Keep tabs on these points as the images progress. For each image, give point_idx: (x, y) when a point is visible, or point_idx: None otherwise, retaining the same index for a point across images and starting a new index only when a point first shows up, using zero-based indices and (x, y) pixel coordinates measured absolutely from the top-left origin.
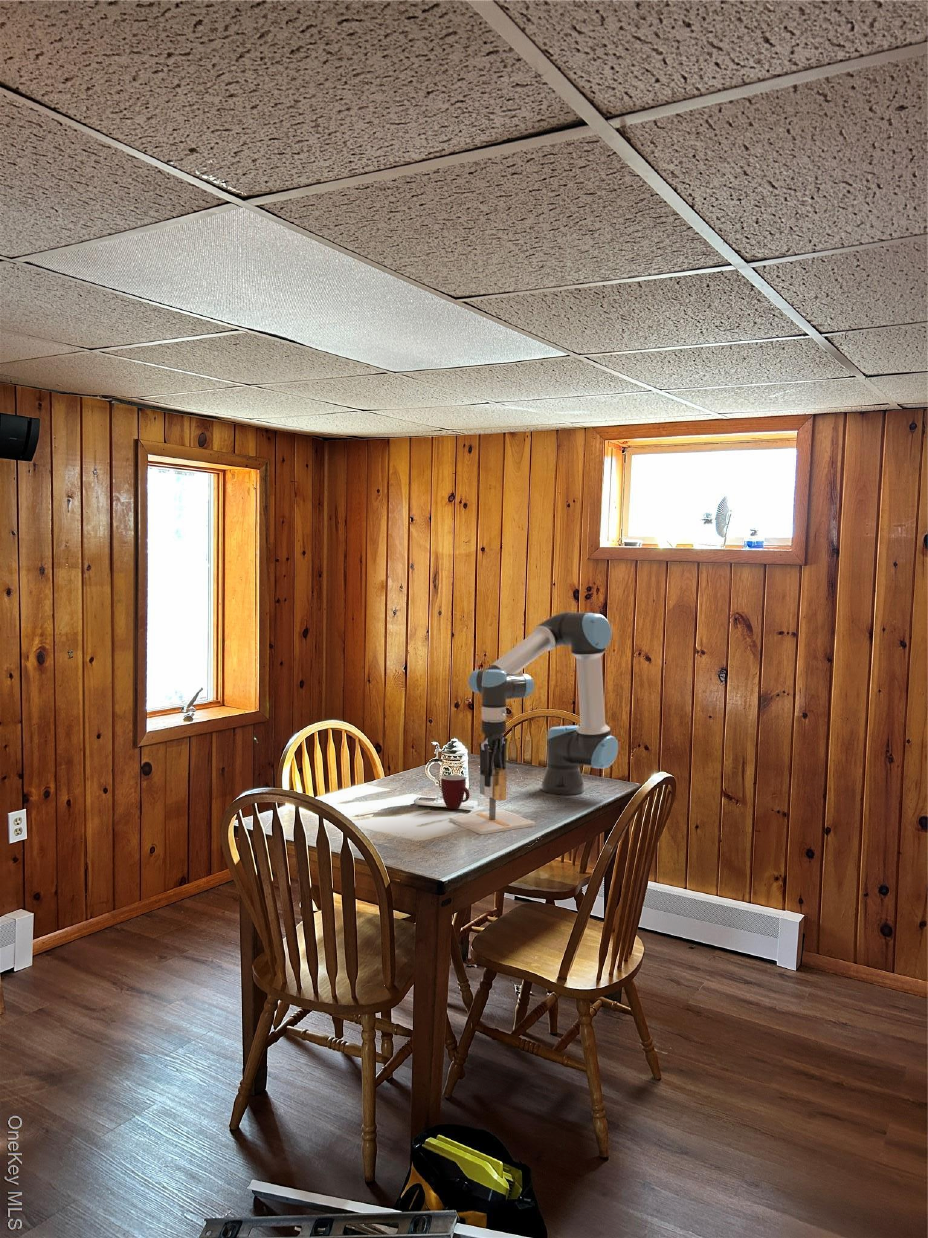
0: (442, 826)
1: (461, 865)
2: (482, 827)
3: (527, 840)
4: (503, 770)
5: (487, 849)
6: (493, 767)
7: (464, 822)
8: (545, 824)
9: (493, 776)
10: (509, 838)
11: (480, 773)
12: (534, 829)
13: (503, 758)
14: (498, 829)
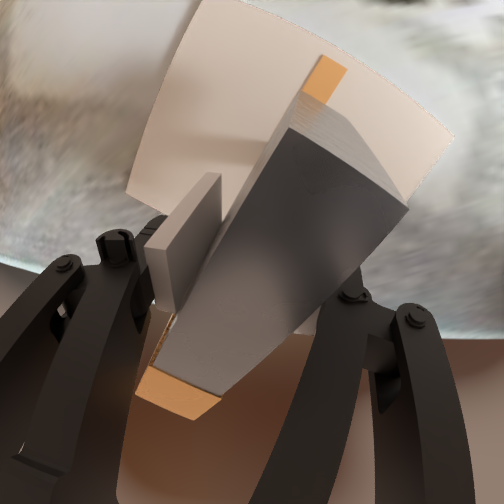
0: (130, 26)
1: (3, 249)
2: (160, 173)
3: None
4: (175, 410)
5: (67, 253)
6: (224, 350)
7: (174, 81)
8: None
9: (176, 312)
10: None
11: (55, 262)
12: None
13: (379, 457)
14: None
